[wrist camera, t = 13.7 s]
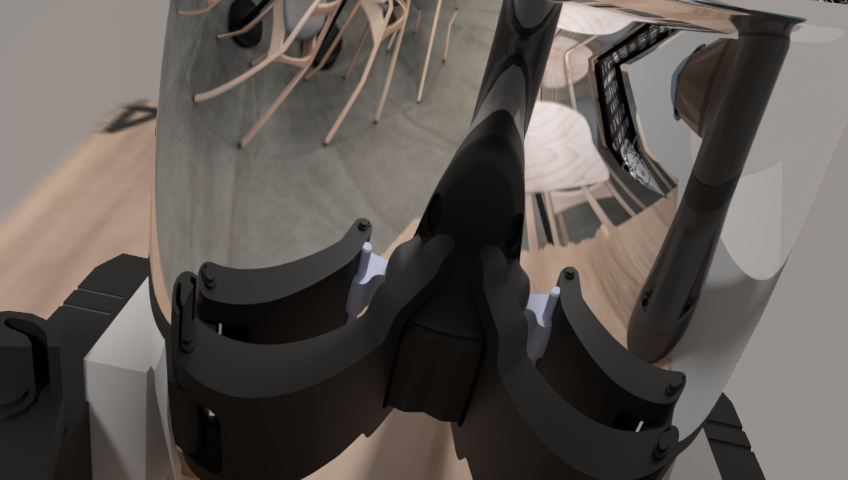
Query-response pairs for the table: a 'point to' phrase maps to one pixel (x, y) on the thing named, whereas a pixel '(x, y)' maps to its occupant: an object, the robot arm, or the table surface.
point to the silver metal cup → (473, 228)
